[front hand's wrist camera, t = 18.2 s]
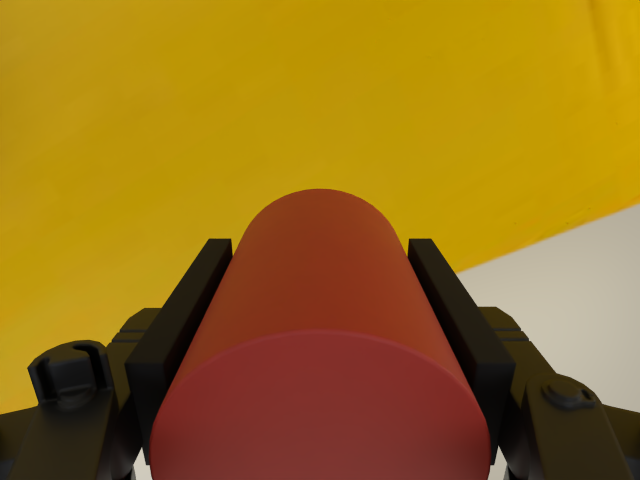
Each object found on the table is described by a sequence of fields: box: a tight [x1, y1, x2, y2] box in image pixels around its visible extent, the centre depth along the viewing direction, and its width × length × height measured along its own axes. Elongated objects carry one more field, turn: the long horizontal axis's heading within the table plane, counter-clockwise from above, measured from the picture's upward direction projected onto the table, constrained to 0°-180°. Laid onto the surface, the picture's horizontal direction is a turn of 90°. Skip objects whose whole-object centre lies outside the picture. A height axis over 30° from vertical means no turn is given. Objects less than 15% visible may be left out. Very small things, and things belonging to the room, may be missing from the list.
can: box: [149, 189, 491, 480], centre depth 11 cm, size 6×6×8 cm
